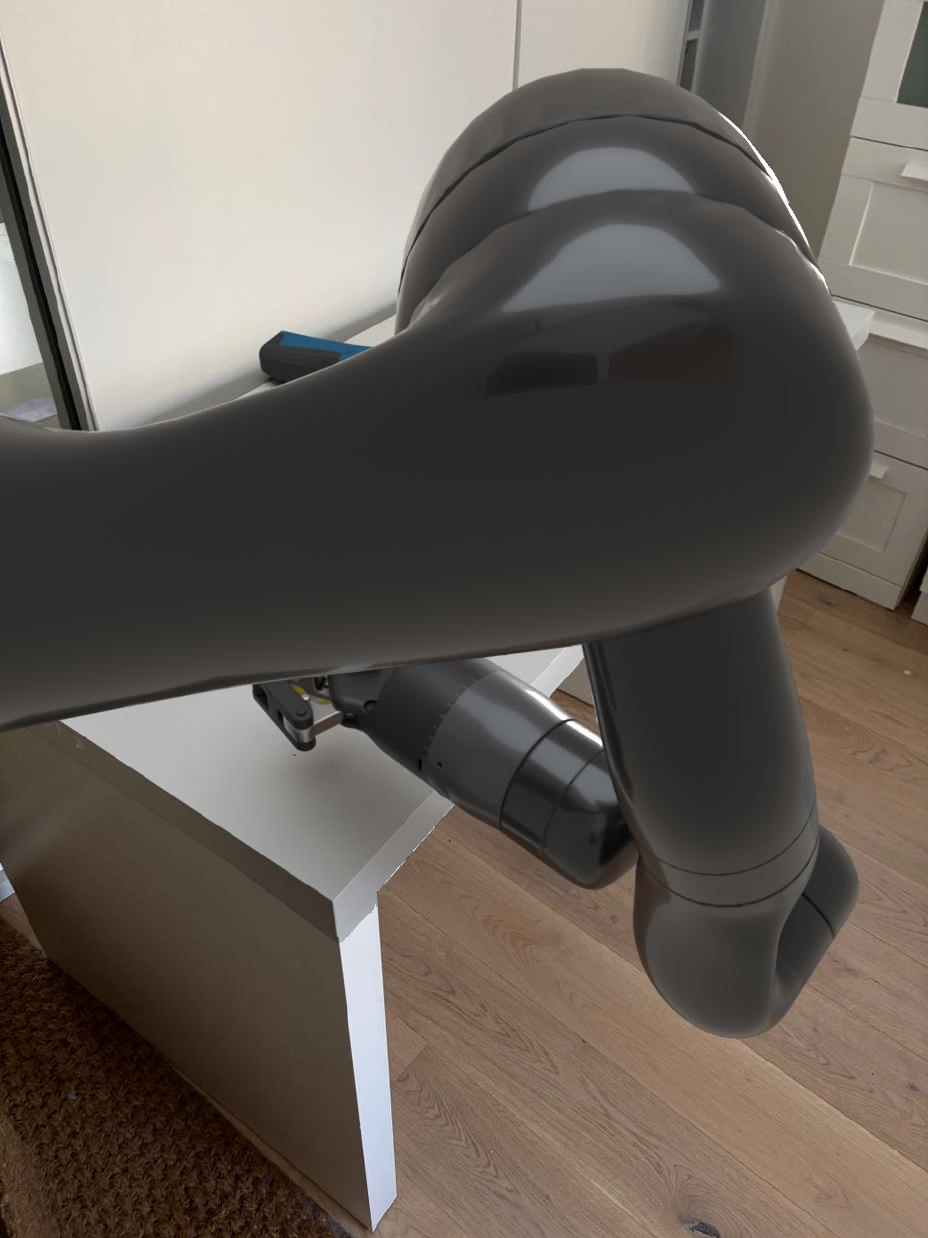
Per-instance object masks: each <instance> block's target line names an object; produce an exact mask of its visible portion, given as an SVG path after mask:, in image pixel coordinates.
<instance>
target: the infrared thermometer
mask: <svg viewBox="0 0 928 1238" xmlns="http://www.w3.org/2000/svg"><path fill="white" fill-rule="evenodd" d="M372 347H373V346H369V345H361V344H352V343H348V342H342V341H336V340H330V339H326V338H325V339H324V338H319V337H314V336H310V335H305V334H302V333H301V334H300V333H296V332H292V331H288V330H280V331H279V332H277V334H275V335H273V337H272V338H270V339H268V340H267V341H266V342H265V343H264V344H263V345H261V347H260V348H259V351H258V359H259V365H260V369H261V371H262V373H264V374H266V376H269V377H272V378H274V379H276V380H279V381H283V382H285V383H288V382H290V381H293V380H296V379H298V378H301V377H303V376H306V375H309V374H311V373H314V372H316V371H319V370H322V369H324V368H327V367H330V366H332V365H334V364H337V363H339V362H341V361H343V360H345V359H348V358H350V357H352V356H354V355H357V354H359V353H361V352H363V351H365V350H368V349H370V348H372Z"/></svg>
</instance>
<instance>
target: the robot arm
mask: <svg viewBox="0 0 928 1238" xmlns="http://www.w3.org/2000/svg"><path fill="white" fill-rule="evenodd" d="M809 244H810V243H809V242H808V240H807V238H806V236H805V234H804V231H803V229H802V227H801V225H800V223H799V221H798V220H797V218H796V216H795V213H794V212H793V208H792V207H791V204H790V202H789V200H788V199H787V197H786V195H785V193H784V191H783V188H782V186H781V184H780V183H779V180H778V179H777V177H776V176H775V173H774V172H773V170H772V169H771V168H770V166H768V164H767V163H766V161H765V160H764V159H763V157H761V155H760V154H759V152H758V151H757V150H756V148H755V147H754V146H753V145H752V143H751V142H750V141H749V140H748V138H747V137H746V135H745V134H743V132H742V130H741V129H739V127H737V126H736V125H735V124H734V123H733V122H732V121H731V120H729V118H728V117H726V116H725V115H723V113H721V112H720V111H718V110H717V109H716V108H715V107H714V106H713V105H711V104H710V103H709V102H708V101H706V100H705V99H704V98H703V97H701V96H699V95H698V94H696V93H694V92H692V91H690V90H688V89H686V88H683V87H682V86H680V85H678V84H677V83H674V82H672V81H669V80H668V79H666V78H664V77H662V76H658V75H653V74H649V73H646V72H641V71H636V70H632V69H628V68H623V67H581V68H576V69H573V70H568V71H563V72H559V73H555V74H550V75H546V76H542V77H540V78H537V79H534V80H532V81H529V82H527V83H525V84H523V85H521V86H518V87H517V88H515V89H513V90H511V91H509V92H508V93H506V94H504V95H503V96H501V98H499V99H498V100H496V101H495V102H494V103H492V104H491V105H490V106H488V107H487V108H486V109H485V110H483V111H482V112H481V113H479V114H478V115H477V116H476V117H474V118H473V119H472V120H471V121H470V122H469V124H468V125H467V126H466V127H465V128H464V129H463V131H462V132H461V133H460V134H459V135H458V136H457V138H456V139H454V141H453V142H452V143H451V145H449V146H448V148H447V149H446V150H445V152H444V154H443V155H442V157H441V159H440V160H439V163H438V164H437V165H436V168H435V169H434V171H433V173H432V175H431V177H430V178H429V180H428V182H427V184H426V185H425V187H424V189H423V191H422V194H421V197H420V199H419V202H418V206H417V208H416V211H415V213H414V217H413V219H412V222H411V226H410V229H409V232H408V235H407V237H406V241H405V245H404V249H403V257H402V263H401V271H400V279H399V285H398V289H397V299H396V308H395V309H396V310H395V322H394V323H395V324H394V335H393V336H391V337H389V338H387V339H386V340H385V341H383V342H381V343H378V344H377V345H375V346H371V347H372V348H370V349H368V350H365V351H363V352H361V353H359V354H357V355H354V356H352V357H350V358H348V359H345V360H343V361H341V362H339V363H337V364H334V365H332V366H330V367H327V368H324V369H322V370H319V371H316V372H314V373H311V374H309V375H306V376H303V377H301V378H298V379H296V380H293V381H290V382H285V383H283V384H280V385H276V386H273V387H270V388H267V389H263V390H261V391H258V392H255V393H251V394H248V395H245V396H241V397H239V398H236V399H233V400H230V401H226V402H223V403H220V404H216V405H213V406H211V407H207V408H204V409H202V410H198V411H194V412H192V413H189V414H185V415H183V416H180V417H176V418H172V419H166V420H163V421H158V422H154V423H148V424H144V425H140V426H135V427H129V428H120V429H112V430H103V431H100V430H99V431H98V430H75V429H68V428H63V427H57V426H52V425H47V424H44V423H42V422H41V423H40V422H38V421H37V422H36V421H33V420H29V419H26V418H23V417H18V416H15V415H11V414H7V413H3V412H0V734H5V733H8V732H12V731H16V730H21V729H26V728H30V727H34V726H40V725H43V724H48V723H54V722H59V721H64V720H68V719H74V718H79V717H84V716H88V715H94V714H99V713H104V712H110V711H114V710H120V709H124V708H129V707H136V706H141V705H146V704H151V703H156V702H161V701H162V702H163V701H166V700H173V699H177V698H182V697H188V696H193V695H199V694H204V693H209V692H216V691H221V690H227V689H233V688H238V687H239V688H240V687H243V686H244V687H245V686H250V685H251V687H252V688H251V691H252V692H251V693H252V698H253V700H254V701H255V702H256V703H257V705H258V706H259V707H260V708H261V709H262V710H263V712H264V713H265V714H266V715H267V716H268V718H269V719H270V720H271V721H272V722H273V724H274V725H275V726H276V727H277V728H278V729H279V730H280V731H281V733H282V734H283V735H284V737H285V738H286V739H287V740H288V741H289V742H290V743H291V745H292V746H293V748H295V749H296V750H297V751H299V752H303V753H304V752H305V753H306V752H310V751H312V750H314V749H315V748H316V746H317V736H318V735H320V734H322V733H324V732H326V731H328V730H330V729H332V728H334V727H336V726H339V725H340V726H342V727H343V728H346V729H350V730H356V731H359V732H361V733H364V734H365V735H366V736H367V737H368V738H369V739H370V740H371V741H372V742H373V744H375V746H376V747H378V749H379V750H380V751H381V752H383V753H384V754H385V755H387V756H388V757H390V758H391V759H392V760H393V761H395V762H396V763H397V764H399V765H400V766H401V767H403V768H405V769H406V770H407V771H408V772H410V773H411V774H413V775H414V776H415V777H417V778H418V779H420V780H421V781H423V783H424V784H426V785H428V786H429V787H431V788H432V789H433V790H434V791H436V792H437V793H438V794H439V795H440V796H441V797H443V798H445V799H447V800H448V801H449V802H450V803H452V804H453V805H455V806H456V807H458V808H459V809H460V810H461V811H463V812H465V813H466V814H467V815H470V816H471V817H473V818H474V819H476V820H478V821H480V822H482V823H484V824H486V825H487V826H489V827H492V828H494V829H495V830H497V831H498V832H500V833H502V834H503V835H504V836H506V837H507V838H508V839H510V840H511V841H513V842H514V843H516V845H518V846H520V847H521V848H522V849H524V850H525V851H526V852H527V853H529V854H530V855H532V856H533V857H535V858H536V859H537V860H539V862H542V863H543V864H544V865H545V866H547V867H548V868H550V869H551V870H552V871H554V872H555V873H557V874H558V875H559V876H561V877H562V878H563V879H565V880H567V881H568V882H570V883H571V884H573V885H575V886H577V887H579V888H582V889H584V890H587V891H598V890H602V889H605V888H607V887H609V886H610V885H612V884H614V883H615V882H617V881H618V880H619V879H621V878H622V877H624V876H625V875H626V874H627V873H628V872H629V871H630V870H632V869H633V868H634V867H635V874H634V875H635V877H634V888H633V889H634V891H633V902H632V903H633V904H632V905H633V906H632V929H633V930H632V931H633V938H634V944H635V948H636V951H637V955H638V958H639V960H640V963H641V966H642V967H643V970H644V972H645V973H646V975H647V977H648V979H649V981H650V984H652V986H653V988H654V989H655V991H657V993H658V994H659V996H660V997H661V998H662V1000H663V1001H664V1002H665V1003H666V1004H667V1005H668V1006H669V1007H670V1008H671V1009H672V1010H673V1011H674V1012H675V1013H676V1014H677V1015H678V1016H680V1017H681V1018H682V1019H684V1020H685V1021H686V1022H688V1023H690V1024H691V1025H692V1026H694V1027H695V1028H697V1029H700V1030H701V1031H703V1032H706V1033H708V1034H711V1035H713V1036H717V1037H721V1038H725V1039H726V1038H727V1039H736V1040H739V1039H740V1040H741V1039H749V1038H754V1037H757V1036H760V1035H762V1034H765V1033H767V1032H768V1031H770V1030H771V1029H774V1027H776V1026H777V1025H778V1024H779V1023H780V1022H781V1021H782V1020H783V1019H784V1018H785V1016H786V1015H787V1014H788V1012H789V1011H790V1010H791V1008H792V1006H793V1005H794V1004H795V1002H796V1000H797V999H798V997H799V996H800V994H801V993H802V991H803V989H804V987H805V986H806V985H807V982H809V979H810V978H811V977H812V975H813V974H814V972H815V971H816V968H817V967H818V966H819V964H820V962H821V961H822V959H823V958H824V956H825V955H826V953H827V952H828V950H829V949H830V947H831V945H832V944H833V941H835V939H836V938H837V936H838V934H839V933H840V932H841V930H842V929H843V927H844V925H845V924H846V922H847V920H848V918H850V916H851V914H852V912H853V910H854V909H855V906H856V905H857V901H858V898H859V895H860V881H859V880H860V879H859V874H858V870H857V868H856V866H855V864H854V861H853V860H852V857H851V856H850V854H849V852H848V851H847V850H846V848H845V847H844V845H843V844H842V843H841V842H840V841H839V839H837V837H836V836H835V835H834V834H832V832H831V831H830V830H829V829H827V828H826V827H825V826H823V825H822V824H821V823H820V818H819V817H820V816H819V808H818V807H819V806H818V799H817V788H816V781H815V771H814V766H813V759H812V753H811V747H810V741H809V736H808V731H807V726H806V722H805V717H804V713H803V709H802V704H801V701H800V697H799V693H798V689H797V684H796V680H795V676H794V673H793V669H792V666H791V661H790V657H789V654H788V651H787V647H786V643H785V639H784V636H783V632H782V628H781V624H780V619H779V615H778V611H777V607H776V604H775V599H774V595H773V591H772V587H771V586H773V585H774V584H776V583H778V582H779V581H781V580H782V579H784V578H785V577H786V576H788V575H790V574H791V573H792V572H794V571H795V570H797V568H799V567H801V566H802V565H803V564H805V563H806V562H807V561H809V560H810V559H811V558H812V557H814V556H816V554H817V553H818V552H819V551H821V550H822V549H823V548H824V547H825V546H826V545H827V544H828V542H830V540H831V539H832V538H833V536H834V535H835V534H837V532H838V530H839V529H840V528H841V527H842V526H843V525H844V524H845V522H846V521H847V520H848V519H849V517H850V516H851V514H852V512H853V511H854V509H855V507H856V506H857V505H856V504H857V503H858V501H859V499H860V496H861V494H862V492H863V490H864V489H865V486H866V484H867V481H868V479H869V477H870V476H871V475H870V474H871V471H872V465H873V461H874V456H875V447H876V431H877V429H876V428H877V427H876V420H875V410H874V406H873V401H872V397H871V393H870V389H869V385H868V381H867V378H866V374H865V370H864V367H863V365H862V362H861V359H860V357H859V354H858V352H857V349H856V347H855V345H854V342H853V340H852V337H851V336H850V333H849V330H848V329H847V326H846V323H845V321H844V319H843V316H842V315H841V313H840V311H839V308H838V307H837V304H836V302H835V300H834V295H833V293H832V292H831V289H830V287H829V285H828V283H827V281H826V278H825V277H824V274H823V272H822V269H821V267H820V265H819V264H818V262H817V259H816V257H815V255H814V253H813V251H812V249H811V247H810V245H809ZM577 646H581V651H582V656H583V661H584V664H585V670H586V674H587V679H588V684H589V689H590V694H591V699H592V704H593V709H594V714H595V719H596V724H597V728H598V729H597V730H598V732H597V731H595V730H594V729H592V728H591V727H589V726H587V725H586V724H584V723H582V722H581V721H579V720H578V719H577V718H575V717H574V716H572V715H571V714H570V713H569V712H567V711H566V710H565V709H563V708H562V707H561V706H560V705H559V704H558V703H556V702H555V701H554V700H553V699H552V698H550V697H549V696H548V695H546V694H544V693H543V692H541V690H539V689H537V688H535V687H533V686H532V685H530V684H529V683H527V682H526V681H524V680H522V679H521V678H519V677H518V676H516V675H514V674H513V673H511V672H510V671H507V670H506V669H504V668H503V667H501V666H500V665H498V664H497V663H494V661H492V660H490V659H488V658H492V657H493V658H494V657H500V656H501V657H502V656H509V655H517V654H525V653H534V652H541V651H549V650H557V649H564V648H572V647H577ZM326 675H327V678H326V677H325V676H326ZM291 685H292V686H296V687H299V688H301V689H302V690H303V691H304V692H305V693H306V694H303V695H302V696H300V695H299V694H298V692H297V691H296V690H295V689H294V688H293V687H292V686H291ZM310 696H311V697H315V698H319V699H322V700H326V701H330V702H331V703H328V704H320V703H318V702H316V701H315V700H313V699H310Z"/></svg>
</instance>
